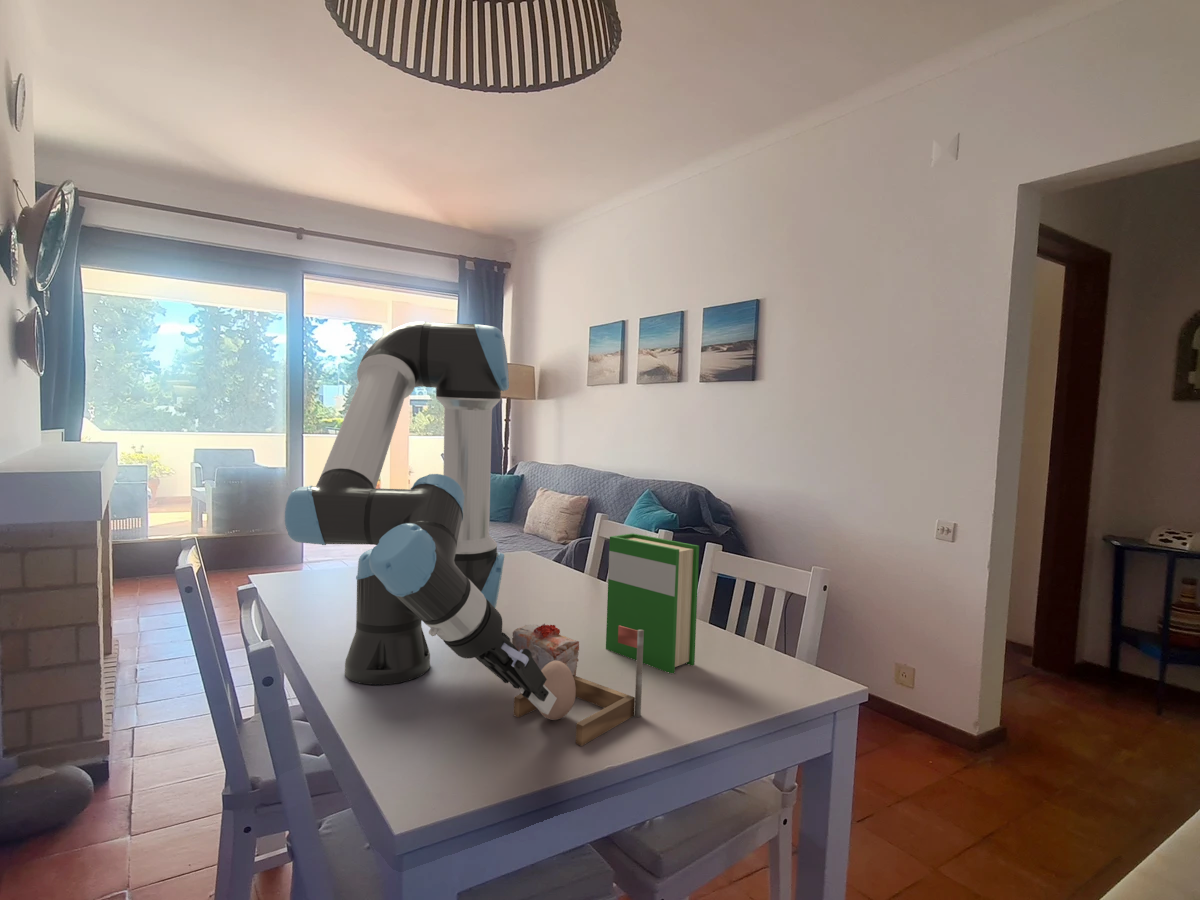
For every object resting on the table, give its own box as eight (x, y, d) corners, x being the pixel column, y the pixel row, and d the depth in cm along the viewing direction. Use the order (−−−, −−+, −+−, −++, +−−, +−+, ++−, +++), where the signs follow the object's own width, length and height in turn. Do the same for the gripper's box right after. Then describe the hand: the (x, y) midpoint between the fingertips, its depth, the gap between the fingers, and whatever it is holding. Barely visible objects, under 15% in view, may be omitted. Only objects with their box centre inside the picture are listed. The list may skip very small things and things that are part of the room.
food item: (584, 683, 113) (586, 630, 113) (552, 695, 107) (554, 639, 107) (536, 662, 122) (537, 612, 122) (503, 672, 117) (505, 620, 116)
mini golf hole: (513, 715, 99) (516, 628, 99) (571, 688, 110) (573, 610, 110) (586, 748, 90) (589, 653, 89) (641, 715, 101) (645, 630, 100)
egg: (577, 726, 96) (580, 667, 96) (535, 728, 94) (538, 669, 94) (570, 709, 102) (573, 654, 102) (530, 710, 101) (533, 654, 101)
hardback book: (694, 664, 124) (699, 545, 123) (671, 674, 118) (676, 549, 118) (629, 641, 136) (633, 533, 135) (605, 649, 131) (609, 536, 130)
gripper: (416, 632, 83) (506, 715, 96) (479, 655, 74) (568, 742, 88) (450, 586, 87) (531, 671, 100) (513, 603, 78) (593, 694, 92)
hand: (548, 705), depth 94 cm, fingers closed
